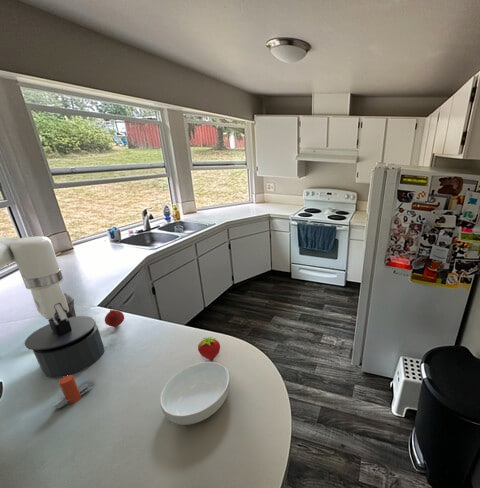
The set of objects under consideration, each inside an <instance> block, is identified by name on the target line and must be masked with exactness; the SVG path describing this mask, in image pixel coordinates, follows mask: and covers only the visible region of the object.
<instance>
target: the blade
mask: <svg viewBox="0 0 480 488" xmlns="http://www.w3.org/2000/svg"><path fill="white" fill-rule="evenodd" d="M58 384H59V387H60V389H61V392H62V394H63V396H64V398H63V399H61V400H60V401H59V402H58V403H56V404H55V405H54V406H53V409H54V410H55V411H57V410H59V409H61V408H62V407H64V406H66V405H72V404H75V403H77V402H78V401H80V400H81V398H82V396H83V395H85V394H86V393H87V392H89V391H91V390H92V389H93V388H92V386H91V385H90V384H88V383H83V384H82V385H81V386H79V387H78V384H77V382H76V379H75V378H74V375H73V374H72V375H68V376H65V377H61V378H60V379H59V380H58Z"/></svg>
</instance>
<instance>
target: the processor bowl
mask: <svg viewBox="0 0 480 488" xmlns="http://www.w3.org/2000/svg"><path fill="white" fill-rule="evenodd" d="M32 352H33V354H34V356H35V358H36V361H37V363H38V366H39V367H40V369H41V372H42V373H43V375H44V377H47V378H50V379H58V378H59V379H60V378H63V376H67V375H72V376H73V375H74V374H77V373H79V372H82V371H83V370H85V369H87V368H89V367H91V366H92V365H93V364H95V363H96V362H97V361H99V359H101V357H102V356H103V355H104V352H105V345H104V342H103V340H102V336H101V334H100V329H99V327H98V325H97V324H95V326H94V328H93V329H92V330H91V331H90V332H89V333H87V334H86V335H84V336H83V337H81V338H79V339H77V340H75V341H73V342H71V343H68V344H66V345H63V346H59V347H56V348H52V349H46V350H32Z"/></svg>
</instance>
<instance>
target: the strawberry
mask: <svg viewBox="0 0 480 488" xmlns="http://www.w3.org/2000/svg"><path fill="white" fill-rule="evenodd" d="M220 350H221V344H220V341H219V340H217V338H215V337H214V338H213V336H212V335H211V336H210V337H209V336H208V337H206V336H205V337H202V340H200V342H198V345H197V351H198V353H199V354H200V356H202V357H203V358H205V359H207V360H209V361H213V360H214V359H215V358H216V357H217V356H218V354H219V353H220V352H221V351H220Z"/></svg>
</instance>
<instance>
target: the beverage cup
mask: <svg viewBox="0 0 480 488" xmlns="http://www.w3.org/2000/svg"><path fill="white" fill-rule="evenodd" d="M63 293H64V295H65V298H66V301H67V304H68V307H69V312H68V313H66V312H65V313H66V315H67V318H71V317H77V314H76V310H75V302H74V301H75V299H74V298H73V296H72V295H71V294H68V293H67V292H63Z"/></svg>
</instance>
